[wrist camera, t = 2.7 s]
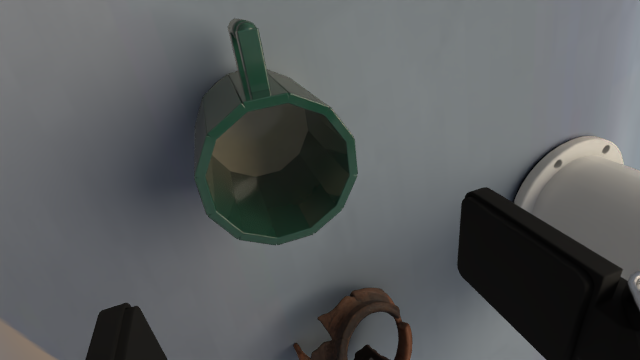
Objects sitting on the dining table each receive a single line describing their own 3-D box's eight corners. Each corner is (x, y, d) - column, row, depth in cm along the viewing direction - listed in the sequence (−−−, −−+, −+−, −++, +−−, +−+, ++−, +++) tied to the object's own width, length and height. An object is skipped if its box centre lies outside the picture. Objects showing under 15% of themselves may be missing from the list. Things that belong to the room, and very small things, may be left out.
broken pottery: (263, 333, 32) (305, 369, 24) (328, 254, 36) (381, 264, 28) (343, 409, 35) (401, 460, 28) (395, 329, 39) (457, 355, 32)
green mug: (317, 162, 25) (362, 219, 19) (214, 189, 24) (222, 262, 17) (293, 7, 21) (342, 7, 14) (164, 28, 19) (146, 39, 12)
